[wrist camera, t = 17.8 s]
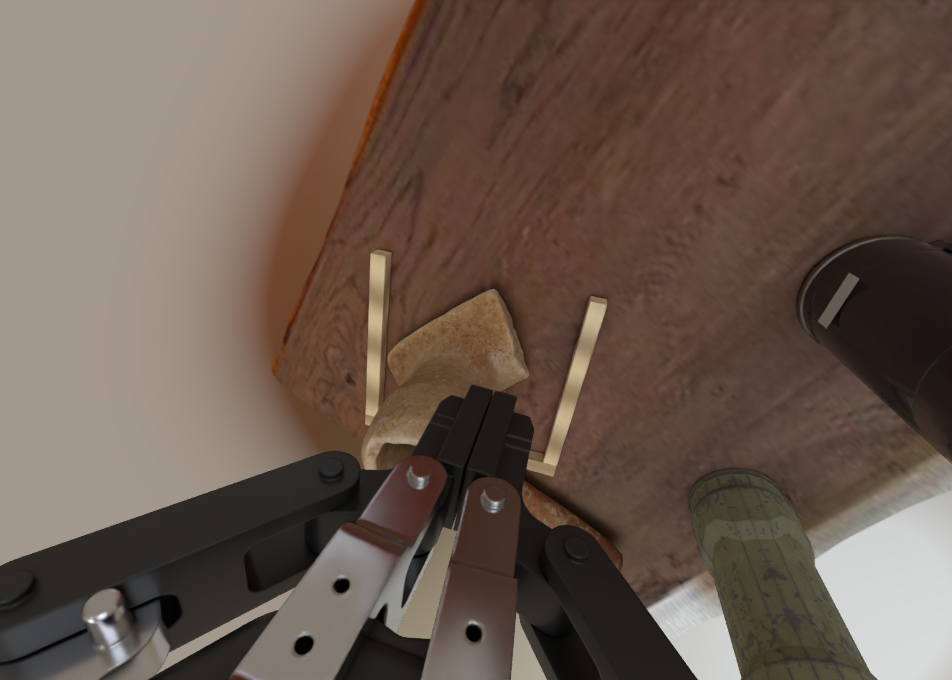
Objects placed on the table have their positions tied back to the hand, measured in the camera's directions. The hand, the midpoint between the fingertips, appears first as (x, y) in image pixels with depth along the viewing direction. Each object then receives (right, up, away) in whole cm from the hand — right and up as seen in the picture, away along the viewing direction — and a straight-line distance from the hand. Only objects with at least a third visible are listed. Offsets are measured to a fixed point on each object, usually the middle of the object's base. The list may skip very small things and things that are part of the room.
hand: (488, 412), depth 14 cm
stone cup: (-1, 0, +31) cm, 31 cm away
